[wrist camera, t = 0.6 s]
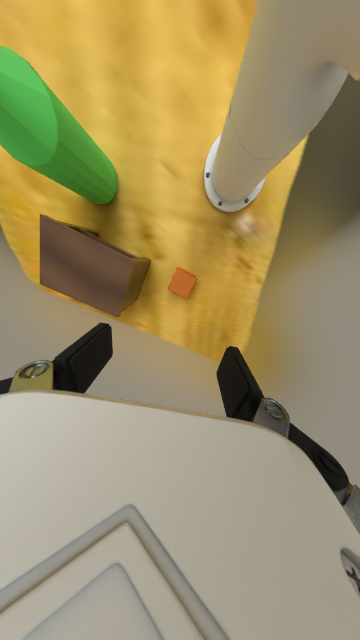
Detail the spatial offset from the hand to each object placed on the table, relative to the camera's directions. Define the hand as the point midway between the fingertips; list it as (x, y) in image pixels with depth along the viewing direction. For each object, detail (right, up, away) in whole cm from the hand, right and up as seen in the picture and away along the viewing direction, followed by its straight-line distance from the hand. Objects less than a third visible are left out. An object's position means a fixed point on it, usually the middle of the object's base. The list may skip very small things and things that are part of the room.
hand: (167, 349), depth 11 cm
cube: (+2, +14, +27) cm, 30 cm away
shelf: (-17, +17, +27) cm, 36 cm away
